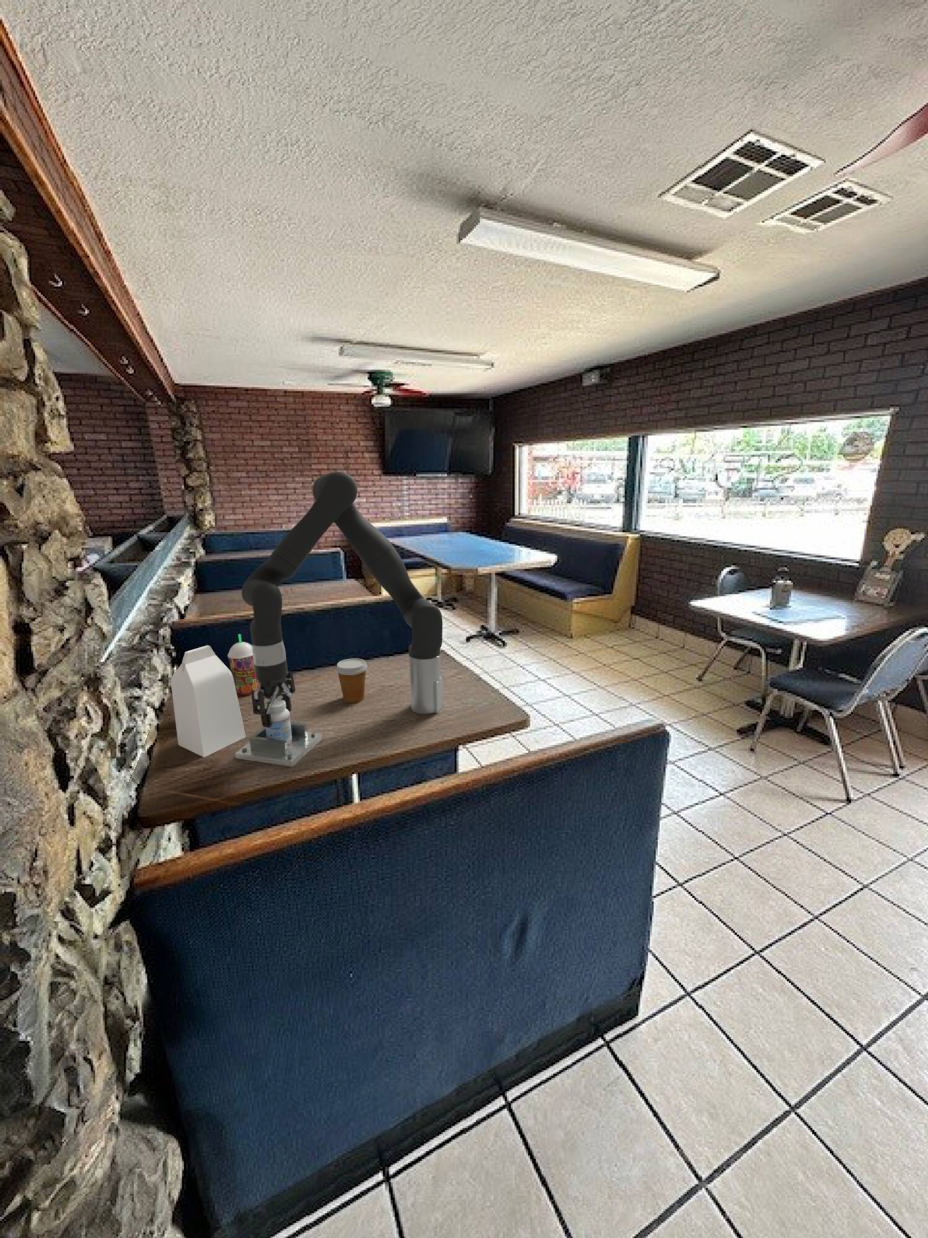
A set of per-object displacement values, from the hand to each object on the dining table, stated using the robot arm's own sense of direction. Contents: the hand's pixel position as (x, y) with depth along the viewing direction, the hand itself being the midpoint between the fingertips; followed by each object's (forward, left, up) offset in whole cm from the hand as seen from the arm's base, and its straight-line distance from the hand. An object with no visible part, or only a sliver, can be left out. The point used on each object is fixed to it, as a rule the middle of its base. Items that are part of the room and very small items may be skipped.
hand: (277, 718), depth 130 cm
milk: (+20, +1, -9) cm, 22 cm away
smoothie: (+31, -28, -9) cm, 43 cm away
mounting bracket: (0, 0, -8) cm, 8 cm away
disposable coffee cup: (-5, -32, -9) cm, 33 cm away
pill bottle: (0, 0, -7) cm, 7 cm away
